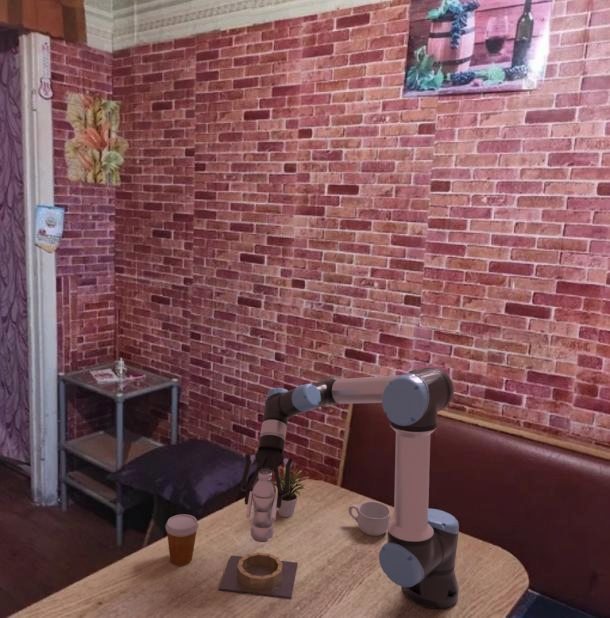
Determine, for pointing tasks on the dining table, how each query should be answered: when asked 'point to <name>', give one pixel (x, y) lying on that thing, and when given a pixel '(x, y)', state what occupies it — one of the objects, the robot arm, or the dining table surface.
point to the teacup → (372, 517)
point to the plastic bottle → (263, 507)
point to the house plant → (290, 494)
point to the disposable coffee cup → (181, 538)
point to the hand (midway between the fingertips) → (260, 517)
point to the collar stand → (259, 575)
